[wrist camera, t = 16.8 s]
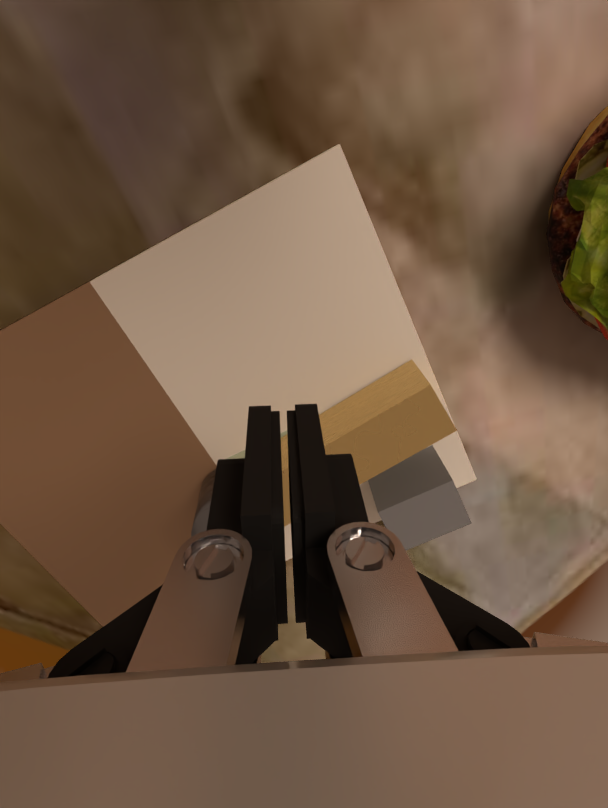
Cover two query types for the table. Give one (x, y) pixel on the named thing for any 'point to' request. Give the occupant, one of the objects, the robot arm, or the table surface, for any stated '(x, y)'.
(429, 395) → the bar
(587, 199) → the food
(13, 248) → the table surface
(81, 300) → the door panel
